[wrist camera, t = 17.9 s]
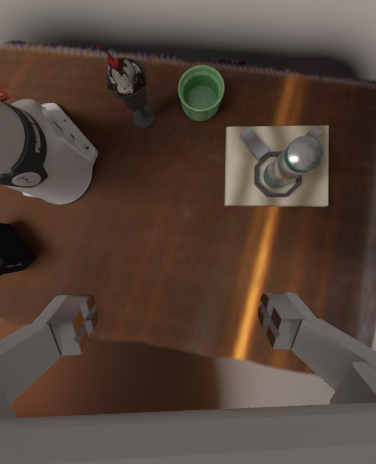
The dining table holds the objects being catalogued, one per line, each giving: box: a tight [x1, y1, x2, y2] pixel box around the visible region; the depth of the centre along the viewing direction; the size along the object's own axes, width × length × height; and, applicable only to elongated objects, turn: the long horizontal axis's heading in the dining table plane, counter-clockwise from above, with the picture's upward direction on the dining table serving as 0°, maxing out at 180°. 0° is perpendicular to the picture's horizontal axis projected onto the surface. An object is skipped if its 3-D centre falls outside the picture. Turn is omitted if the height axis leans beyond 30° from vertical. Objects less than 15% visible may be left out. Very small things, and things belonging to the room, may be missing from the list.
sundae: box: [97, 45, 155, 128], centre depth 33 cm, size 7×7×15 cm
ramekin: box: [178, 65, 225, 121], centre depth 37 cm, size 9×9×4 cm
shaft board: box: [225, 126, 329, 207], centre depth 36 cm, size 20×16×4 cm
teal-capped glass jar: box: [263, 136, 324, 188], centre depth 32 cm, size 5×5×10 cm
